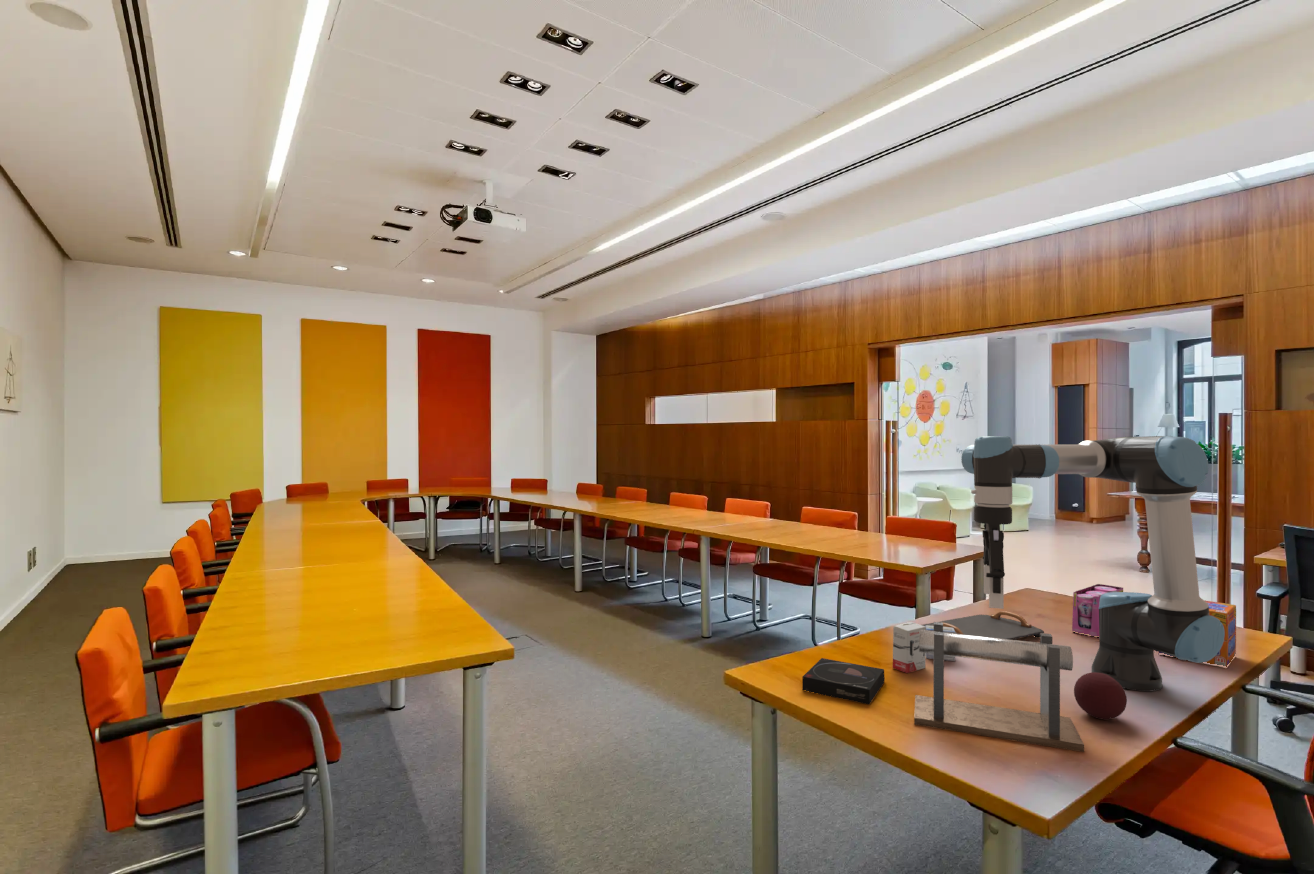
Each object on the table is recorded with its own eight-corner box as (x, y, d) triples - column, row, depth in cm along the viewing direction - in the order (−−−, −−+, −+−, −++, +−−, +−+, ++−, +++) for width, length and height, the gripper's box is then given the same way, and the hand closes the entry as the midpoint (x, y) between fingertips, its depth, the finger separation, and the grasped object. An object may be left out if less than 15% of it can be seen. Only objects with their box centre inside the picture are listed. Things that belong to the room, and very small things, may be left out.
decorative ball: (1136, 728, 141) (1136, 683, 141) (1086, 725, 143) (1086, 679, 143) (1112, 710, 151) (1112, 667, 151) (1065, 706, 153) (1065, 664, 153)
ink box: (907, 673, 174) (907, 630, 174) (891, 668, 178) (892, 625, 178) (926, 667, 179) (926, 625, 179) (910, 662, 183) (911, 621, 183)
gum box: (1097, 639, 206) (1097, 597, 206) (1069, 633, 212) (1069, 592, 212) (1124, 627, 220) (1124, 587, 220) (1097, 621, 227) (1097, 583, 227)
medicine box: (953, 656, 188) (953, 627, 188) (955, 661, 184) (955, 631, 184) (924, 653, 191) (924, 624, 191) (925, 658, 187) (925, 628, 187)
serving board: (987, 620, 228) (987, 603, 228) (1052, 638, 208) (1052, 619, 208) (909, 635, 211) (909, 616, 211) (972, 656, 190) (972, 635, 190)
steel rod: (1067, 662, 141) (1068, 641, 140) (1072, 675, 136) (1073, 653, 135) (919, 644, 152) (919, 625, 151) (919, 656, 148) (919, 636, 147)
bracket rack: (1070, 724, 143) (1070, 634, 143) (1084, 751, 130) (1084, 653, 131) (915, 700, 156) (915, 618, 156) (914, 724, 143) (914, 633, 143)
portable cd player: (884, 683, 168) (884, 668, 168) (869, 706, 154) (869, 689, 154) (822, 671, 177) (822, 657, 177) (802, 692, 162) (802, 676, 162)
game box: (1157, 655, 191) (1157, 602, 191) (1169, 644, 201) (1169, 594, 201) (1227, 669, 179) (1227, 613, 179) (1236, 657, 189) (1236, 604, 190)
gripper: (970, 499, 156) (971, 587, 156) (978, 510, 133) (978, 612, 133) (1005, 500, 154) (1006, 590, 153) (1019, 511, 131) (1019, 616, 130)
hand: (993, 600), depth 143 cm, fingers open, 13 cm apart
